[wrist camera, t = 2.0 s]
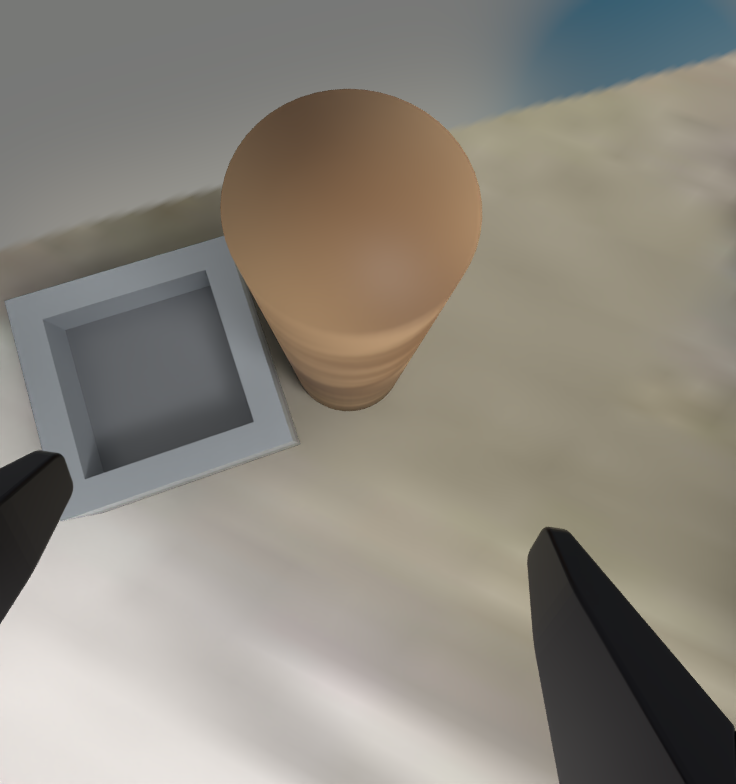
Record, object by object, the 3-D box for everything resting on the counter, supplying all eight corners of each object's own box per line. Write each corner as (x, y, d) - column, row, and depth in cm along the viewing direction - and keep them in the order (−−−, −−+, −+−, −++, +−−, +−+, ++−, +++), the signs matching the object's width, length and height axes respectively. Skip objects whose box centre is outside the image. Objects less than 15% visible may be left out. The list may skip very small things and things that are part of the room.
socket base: (300, 443, 21) (292, 440, 18) (102, 512, 20) (60, 521, 17) (241, 265, 22) (225, 235, 19) (52, 323, 21) (4, 300, 18)
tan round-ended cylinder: (341, 433, 21) (336, 386, 8) (272, 351, 21) (165, 186, 9) (422, 364, 22) (534, 223, 9) (354, 286, 22) (368, 44, 9)
